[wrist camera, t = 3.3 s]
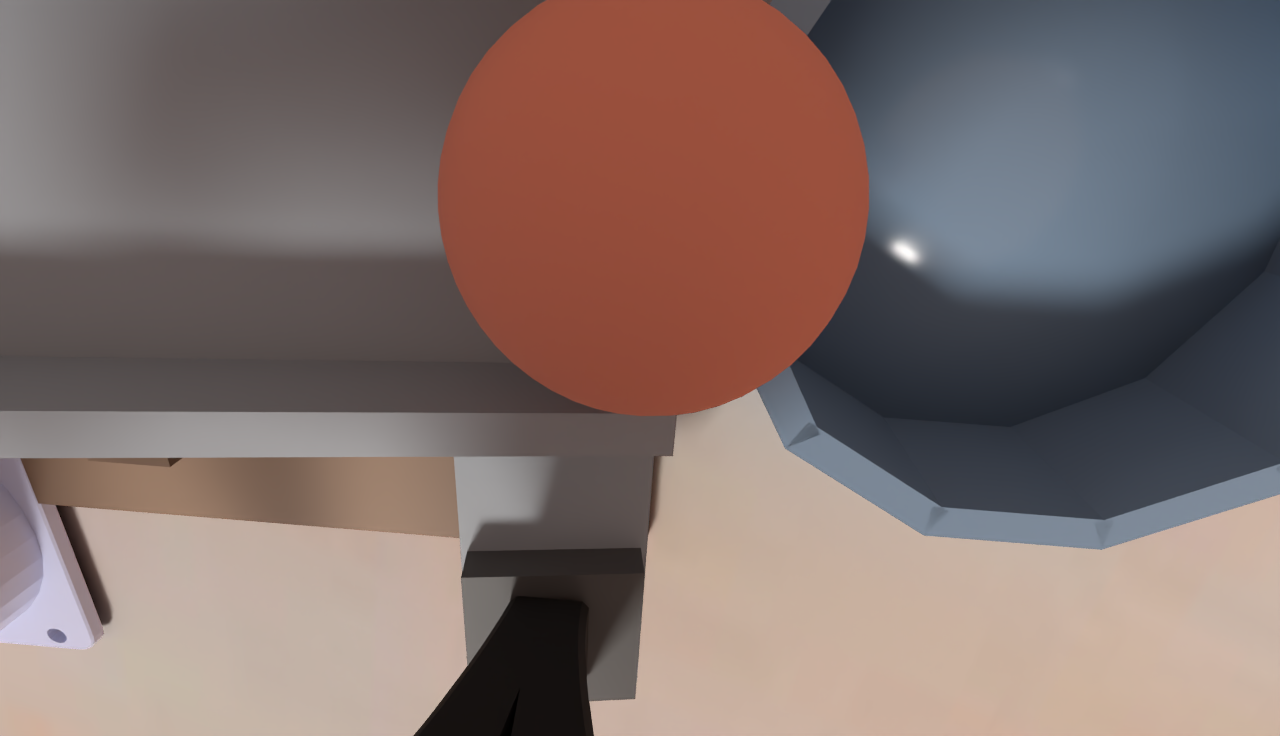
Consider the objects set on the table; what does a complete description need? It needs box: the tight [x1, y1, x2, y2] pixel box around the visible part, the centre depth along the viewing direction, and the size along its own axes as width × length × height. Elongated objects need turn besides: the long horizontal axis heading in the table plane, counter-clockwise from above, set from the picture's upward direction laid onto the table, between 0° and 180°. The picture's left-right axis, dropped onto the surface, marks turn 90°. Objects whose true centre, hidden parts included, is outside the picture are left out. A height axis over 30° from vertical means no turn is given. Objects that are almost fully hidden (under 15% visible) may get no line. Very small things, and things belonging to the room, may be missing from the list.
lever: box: [0, 0, 677, 701], centre depth 8 cm, size 15×12×2 cm
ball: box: [438, 0, 869, 416], centre depth 6 cm, size 4×4×4 cm
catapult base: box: [20, 457, 460, 538], centre depth 10 cm, size 15×18×5 cm
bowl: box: [757, 0, 1280, 550], centre depth 10 cm, size 11×11×4 cm
